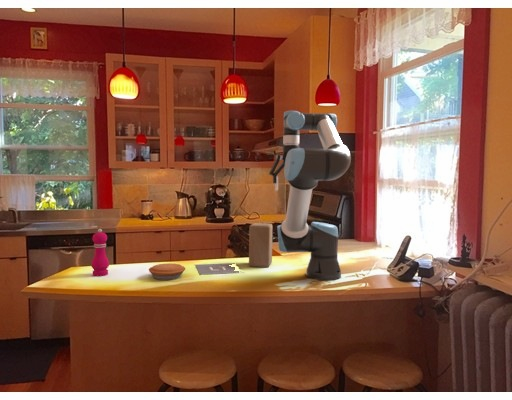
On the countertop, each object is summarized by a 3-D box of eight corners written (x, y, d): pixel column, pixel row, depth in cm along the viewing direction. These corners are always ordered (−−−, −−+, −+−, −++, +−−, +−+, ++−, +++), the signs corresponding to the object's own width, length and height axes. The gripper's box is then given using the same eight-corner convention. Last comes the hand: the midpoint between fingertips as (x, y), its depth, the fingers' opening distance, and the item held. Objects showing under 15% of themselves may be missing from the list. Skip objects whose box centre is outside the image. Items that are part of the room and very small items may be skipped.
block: (269, 267, 201) (269, 225, 200) (248, 266, 203) (249, 225, 202) (272, 263, 211) (272, 223, 210) (252, 262, 213) (252, 222, 211)
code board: (244, 272, 191) (244, 272, 191) (199, 274, 186) (199, 274, 186) (235, 263, 210) (235, 263, 210) (195, 264, 205) (195, 264, 205)
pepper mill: (92, 277, 179) (91, 230, 178) (90, 273, 185) (89, 228, 184) (110, 275, 182) (110, 229, 181) (107, 272, 189) (107, 227, 187)
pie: (146, 274, 186) (146, 263, 186) (181, 271, 192) (181, 260, 191) (151, 283, 172) (151, 270, 171) (189, 279, 178) (189, 268, 177)
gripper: (313, 146, 205) (312, 190, 206) (263, 144, 199) (262, 190, 200) (319, 145, 198) (318, 190, 199) (267, 143, 192) (266, 190, 193)
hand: (290, 190), depth 200 cm, fingers open, 13 cm apart
